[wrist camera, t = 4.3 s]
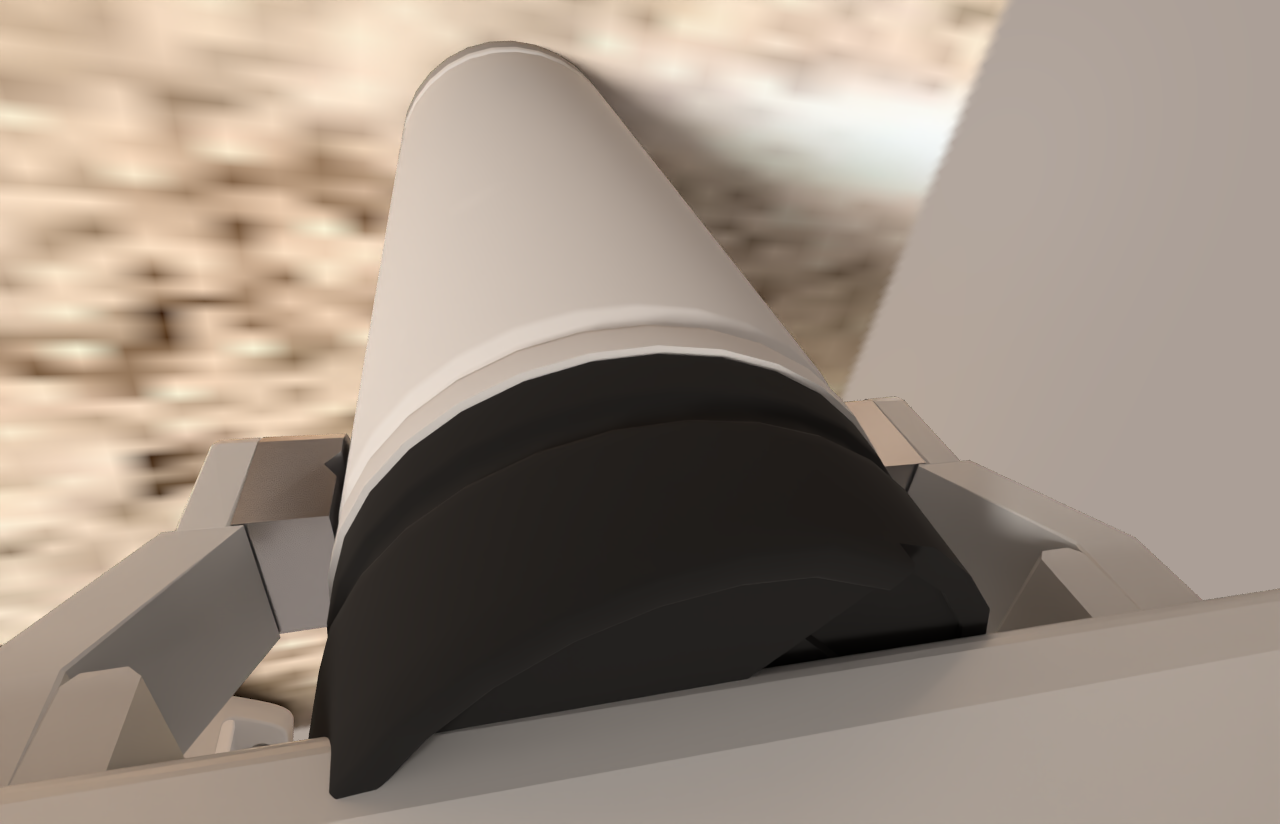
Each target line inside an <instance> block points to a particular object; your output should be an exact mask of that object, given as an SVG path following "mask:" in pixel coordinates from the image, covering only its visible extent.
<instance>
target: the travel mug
mask: <svg viewBox="0 0 1280 824" xmlns="http://www.w3.org/2000/svg"><path fill="white" fill-rule="evenodd" d="M328 585H329V599H330V606H329V612H328V618H327V634H328V638H327V642H326V646H325V650H324V654H323V658H322V662H321V666H320V670H319V675H318V681H317V687H316V694H315V700H314V706H313V713H312V719H311V725H310V732H309V739H313V738H319V737H328V739H329V741H330V745H331V762H330V782H329V794H330V795H331V796H332V797H333V798H334V799H340V798H344V797H348V796H352V795H357V794H361V793H365V792H369V791H373V790H377V789H378V788H379V787H381V786H382V785H383V784H384V783H385V782H386V781H387V780H388V779H389V778H390V777H391V776H392V775H393V774H394V773H395V772H396V771H397V770H398V769H399V768H400V767H401V766H402V765H403V764H404V763H405V762H406V761H407V759H408V758H409V757H410V756H411V755H412V754H413V753H414V752H415V751H416V750H417V749H418V748H419V747H420V746H421V745H422V744H423V743H424V742H425V741H426V740H427V739H428V738H429V737H431V736H432V735H433V734H434V733H440V732H446V731H452V730H457V729H463V728H469V727H474V726H480V725H486V724H492V723H497V722H503V721H509V720H515V719H520V718H526V717H532V716H538V715H543V714H549V713H555V712H560V711H566V710H572V709H578V708H583V707H589V706H595V705H601V704H606V703H612V702H618V701H624V700H629V699H635V698H641V697H647V696H652V695H658V694H664V693H670V692H675V691H681V690H687V689H693V688H698V687H704V686H710V685H716V684H721V683H727V682H733V681H739V680H744V679H749V678H750V677H751V676H753V675H754V674H756V673H757V672H759V671H760V670H761V669H764V668H770V667H776V666H783V665H789V664H796V663H802V662H809V661H815V660H822V659H828V658H835V657H841V656H847V655H854V654H860V653H867V652H873V651H880V650H886V649H893V648H899V647H906V646H912V645H918V644H925V643H931V642H938V641H944V640H951V639H957V638H964V637H970V636H977V635H983V634H986V630H987V624H988V618H989V613H990V608H989V606H988V605H987V603H986V601H985V599H984V598H983V596H982V594H981V593H980V591H979V589H978V587H977V586H976V584H975V582H974V580H973V579H972V577H971V575H970V574H969V573H968V571H967V570H966V569H965V568H964V566H963V565H962V564H961V562H960V561H959V560H958V558H957V557H956V556H955V554H954V553H953V552H952V550H951V549H950V548H949V547H948V545H947V544H946V543H945V541H944V540H943V539H942V537H941V536H940V535H939V533H938V532H937V531H936V530H935V528H934V527H933V526H932V524H931V523H930V522H929V520H928V519H927V518H926V516H925V515H924V514H923V512H922V511H921V510H920V509H919V507H918V506H917V505H916V503H915V502H914V501H913V499H912V498H911V497H910V496H909V494H908V493H907V492H906V490H905V489H904V488H903V487H901V486H900V485H899V484H898V483H897V482H896V481H894V480H893V479H892V477H891V476H890V474H889V472H888V471H887V469H886V467H885V466H884V464H883V463H882V461H881V459H880V458H879V456H878V454H877V452H876V450H875V448H874V447H873V445H872V443H871V442H870V440H869V438H868V437H867V435H866V433H865V432H864V430H863V428H862V427H861V425H860V423H859V422H858V420H857V419H856V417H855V416H854V414H853V413H852V412H851V411H850V409H849V408H848V407H847V406H846V404H845V403H844V402H843V400H842V399H841V398H840V397H839V396H838V395H837V394H836V393H834V392H833V391H832V390H831V389H830V387H829V385H828V384H827V382H826V380H825V379H824V377H823V376H822V374H821V373H820V371H819V370H818V369H817V368H816V366H815V365H814V364H813V362H812V361H811V360H810V359H809V357H808V356H807V355H806V354H805V352H804V351H803V350H802V349H801V347H800V346H799V345H798V343H797V342H796V341H795V340H794V338H793V337H792V336H791V335H790V333H789V332H788V331H787V330H786V328H785V327H784V326H783V324H782V323H781V322H780V321H779V319H778V318H777V317H776V316H775V314H774V313H773V312H772V311H771V309H770V308H769V307H768V306H767V304H766V303H765V302H764V300H763V299H762V298H761V297H760V295H759V294H758V293H757V292H756V290H755V289H754V288H753V287H752V285H751V284H750V283H749V281H748V280H747V279H746V278H745V276H744V275H743V274H742V273H741V271H740V270H739V269H738V268H737V266H736V265H735V264H734V262H733V261H732V260H731V259H730V257H729V256H728V255H727V254H726V252H725V251H724V250H723V249H722V247H721V246H720V245H719V243H718V242H717V241H716V240H715V238H714V237H713V236H712V235H711V233H710V232H709V231H708V230H707V228H706V227H705V226H704V224H703V223H702V222H701V221H700V219H699V218H698V217H697V216H696V214H695V213H694V212H693V211H692V209H691V208H690V207H689V205H688V204H687V203H686V202H685V200H684V199H683V198H682V197H681V195H680V194H679V193H678V192H677V190H676V189H675V188H674V187H673V185H672V184H671V183H670V181H669V180H668V179H667V178H666V176H665V175H664V174H663V173H662V171H661V170H660V169H659V168H658V166H657V165H656V164H655V162H654V161H653V160H652V159H651V157H650V156H649V155H648V154H647V152H646V151H645V150H644V149H643V147H642V146H641V145H640V143H639V142H638V141H637V140H636V138H635V137H634V136H633V135H632V133H631V132H630V131H629V130H628V128H627V127H626V126H625V124H624V123H623V122H622V121H621V119H620V118H619V117H618V116H617V114H616V113H615V112H614V111H613V109H612V108H611V107H610V105H609V104H608V103H607V102H606V100H605V99H604V98H603V97H602V95H601V94H600V93H599V92H598V90H597V89H596V88H595V86H594V85H593V84H592V83H591V82H590V81H589V80H588V79H587V78H586V77H585V76H584V75H583V74H582V73H581V72H580V71H579V70H578V69H577V68H576V67H575V66H574V65H573V64H571V63H570V62H568V61H567V60H565V59H564V58H562V57H561V56H559V55H558V54H556V53H553V52H551V51H549V50H546V49H544V48H541V47H539V46H536V45H532V44H527V43H521V42H515V41H498V42H487V43H483V44H479V45H476V46H472V47H468V48H466V49H464V50H462V51H460V52H458V53H456V54H454V55H452V56H450V57H449V58H447V59H446V60H445V61H443V62H442V63H441V64H440V65H439V66H437V67H436V68H435V69H434V70H433V71H432V72H430V74H429V75H428V76H427V78H426V79H425V80H424V82H423V83H422V84H421V86H420V87H419V88H418V90H417V91H416V93H415V95H414V98H413V100H412V102H411V104H410V106H409V109H408V111H407V115H406V120H405V124H404V129H403V134H402V140H401V147H400V152H399V158H398V164H397V170H396V176H395V181H394V187H393V193H392V199H391V205H390V211H389V217H388V223H387V229H386V235H385V241H384V247H383V253H382V259H381V265H380V271H379V277H378V282H377V288H376V294H375V300H374V306H373V312H372V318H371V324H370V330H369V336H368V342H367V348H366V354H365V360H364V366H363V372H362V378H361V383H360V389H359V395H358V401H357V407H356V413H355V419H354V425H353V431H352V437H351V443H350V449H349V455H348V461H347V467H346V473H345V479H344V484H343V490H342V496H341V502H340V508H339V514H338V529H337V533H336V538H335V542H334V546H333V550H332V556H331V562H330V568H329V574H328Z"/></svg>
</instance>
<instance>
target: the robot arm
mask: <svg viewBox="0 0 1280 824" xmlns="http://www.w3.org/2000/svg"><path fill="white" fill-rule="evenodd" d="M844 403H845V404H846V406H847V407H848V408H849V409H850V411H851V412H852V413H853V414H854V416H855V417H856V419H857V420H858V422H859V423H860V425H861V427H862V428H863V430H864V432H865V433H866V435H867V437H868V438H869V440H870V442H871V443H872V445H873V447H874V448H875V450H876V452H877V454H878V456H879V458H880V459H881V461H882V463H883V464H884V466H885V467H886V469H887V471H888V472H889V474H890V476H891V477H892V479H893V480H894V481H896V482H897V483H898V484H899V485H900V486H901V487H903V488H904V489H905V490H906V492H907V493H908V494H909V496H910V497H911V498H912V499H913V501H914V502H915V503H916V505H917V506H918V507H919V509H920V510H921V511H922V512H923V514H924V515H925V516H926V518H927V519H928V520H929V522H930V523H931V524H932V526H933V527H934V528H935V530H936V531H937V532H938V533H939V535H940V536H941V537H942V539H943V540H944V541H945V543H946V544H947V545H948V547H949V548H950V549H951V550H952V552H953V553H954V554H955V556H956V557H957V558H958V560H959V561H960V562H961V564H962V565H963V566H964V568H965V569H966V570H967V571H968V573H969V574H970V575H971V577H972V579H973V580H974V582H975V584H976V586H977V587H978V589H979V591H980V593H981V594H982V596H983V598H984V599H985V601H986V603H987V605H988V606H989V608H990V613H989V618H988V624H987V630H986V634H983V635H977V636H970V637H964V638H957V639H951V640H944V641H938V642H931V643H925V644H918V645H912V646H906V647H899V648H893V649H886V650H880V651H873V652H867V653H860V654H854V655H847V656H841V657H835V658H828V659H822V660H815V661H809V662H802V663H796V664H789V665H783V666H776V667H770V668H764V669H761V670H760V671H759V672H757V673H756V674H754V675H753V676H751V677H750V678H749V679H744V680H739V681H733V682H727V683H721V684H716V685H710V686H704V687H698V688H693V689H687V690H681V691H675V692H670V693H664V694H658V695H652V696H647V697H641V698H635V699H629V700H624V701H618V702H612V703H606V704H601V705H595V706H589V707H583V708H578V709H572V710H566V711H560V712H555V713H549V714H543V715H538V716H532V717H526V718H520V719H515V720H509V721H503V722H497V723H492V724H486V725H480V726H474V727H469V728H463V729H457V730H452V731H446V732H440V733H434V734H433V735H432V736H431V737H429V738H428V739H427V740H426V741H425V742H424V743H423V744H422V745H421V746H420V747H419V748H418V749H417V750H416V751H415V752H414V753H413V754H412V755H411V756H410V757H409V758H408V759H407V761H406V762H405V763H404V764H403V765H402V766H401V767H400V768H399V769H398V770H397V771H396V772H395V773H394V774H393V775H392V776H391V777H390V778H389V779H388V780H387V781H386V782H385V783H384V784H383V785H382V786H381V787H379V788H378V789H377V790H373V791H369V792H365V793H361V794H357V795H352V796H348V797H344V798H340V799H334V798H333V797H332V796H331V795H330V794H329V782H330V762H331V745H330V741H329V739H328V737H319V738H313V739H307V740H300V741H294V742H293V729H294V718H293V715H292V713H291V712H290V711H289V710H288V709H286V708H284V707H282V706H279V705H276V704H272V703H268V702H264V701H259V700H253V699H248V698H242V697H236V696H233V694H234V693H235V692H236V691H237V690H238V688H239V687H240V686H241V685H242V684H243V682H244V681H245V680H246V679H247V677H248V676H249V675H250V674H251V673H252V671H253V670H254V669H255V668H256V667H257V665H258V664H259V663H260V662H261V661H262V659H263V658H264V657H265V656H266V654H267V653H268V652H269V651H270V650H271V648H272V647H273V646H274V645H275V644H276V642H277V641H278V640H279V639H280V635H279V634H282V633H288V632H295V631H302V630H309V629H315V628H322V627H327V618H328V612H329V606H330V599H329V585H328V574H329V568H330V562H331V556H332V550H333V546H334V542H335V538H336V533H337V529H338V514H339V508H340V502H341V496H342V490H343V484H344V479H345V473H346V467H347V461H348V455H349V449H350V443H351V441H350V438H349V436H348V435H347V434H326V435H303V436H281V437H263V438H244V439H228V440H219V441H217V442H216V443H214V444H213V445H212V446H211V447H210V449H209V452H208V454H207V457H206V459H205V461H204V464H203V466H202V468H201V471H200V473H199V476H198V478H197V480H196V483H195V485H194V487H193V490H192V492H191V495H190V497H189V499H188V502H187V504H186V506H185V509H184V511H183V514H182V516H181V518H180V521H179V523H178V525H177V528H176V530H175V531H171V532H161V533H160V534H158V535H157V536H156V537H154V538H153V539H151V540H150V541H149V542H147V543H146V544H144V545H143V546H142V547H140V548H139V549H137V550H136V551H135V552H133V553H132V554H130V555H129V556H128V557H126V558H125V559H123V560H122V561H121V562H119V563H118V564H116V565H115V566H114V567H112V568H111V569H109V570H108V571H107V572H105V573H104V574H102V575H101V576H100V577H98V578H97V579H95V580H94V581H93V582H91V583H90V584H88V585H87V586H86V587H84V588H83V589H81V590H80V591H79V592H77V593H76V594H74V595H73V596H72V597H70V598H69V599H67V600H66V601H65V602H63V603H62V604H60V605H59V606H58V607H56V608H55V609H53V610H52V611H50V612H49V613H48V614H46V615H45V616H43V617H42V618H41V619H39V620H38V621H36V622H35V623H34V624H32V625H31V626H29V627H28V628H27V629H25V630H24V631H22V632H21V633H20V634H18V635H17V636H15V637H14V638H13V639H11V640H10V641H8V642H7V643H6V644H4V645H3V646H1V647H0V824H1280V589H1273V590H1266V591H1260V592H1254V593H1248V594H1241V595H1235V596H1228V597H1221V598H1215V599H1209V600H1202V599H1201V598H1200V597H1199V596H1198V595H1197V594H1195V593H1194V592H1193V591H1192V590H1191V589H1190V588H1189V587H1188V586H1187V585H1186V584H1184V583H1183V581H1181V580H1180V579H1179V578H1178V577H1177V576H1176V575H1175V574H1174V573H1173V572H1172V571H1171V570H1170V569H1169V568H1168V567H1166V566H1165V565H1164V564H1163V563H1162V562H1161V561H1160V560H1159V559H1158V558H1157V557H1156V556H1155V555H1154V554H1152V553H1151V552H1150V551H1149V550H1148V549H1147V548H1146V547H1145V546H1144V545H1143V544H1142V543H1141V542H1140V541H1139V540H1137V539H1136V538H1135V537H1133V536H1131V535H1129V534H1127V533H1125V532H1122V531H1120V530H1118V529H1116V528H1114V527H1112V526H1109V525H1107V524H1105V523H1103V522H1101V521H1099V520H1097V519H1094V518H1092V517H1090V516H1088V515H1086V514H1084V513H1081V512H1080V511H1077V510H1075V509H1073V508H1071V507H1069V506H1067V505H1064V504H1062V503H1060V502H1058V501H1056V500H1054V499H1052V498H1049V497H1047V496H1045V495H1043V494H1041V493H1039V492H1036V491H1034V490H1032V489H1030V488H1028V487H1026V486H1024V485H1022V484H1019V483H1017V482H1015V481H1013V480H1011V479H1009V478H1007V477H1004V476H1002V475H1000V474H998V473H996V472H994V471H992V470H989V469H987V468H985V467H983V466H981V465H979V464H977V463H974V462H972V461H970V460H967V461H960V460H959V459H958V458H957V457H956V456H955V455H954V454H953V452H952V451H951V450H950V449H949V448H948V447H947V446H946V445H945V444H944V443H943V442H942V441H941V440H940V438H939V437H938V436H937V435H936V434H935V433H934V432H933V431H932V430H931V429H930V428H929V426H928V425H927V424H926V423H925V422H924V421H923V420H922V419H921V418H920V417H919V416H918V415H917V414H916V413H915V411H914V410H913V409H912V408H911V407H910V406H909V405H908V404H907V403H906V402H905V400H902V399H900V398H898V397H895V396H894V397H885V398H873V399H865V400H863V401H850V402H844Z"/></svg>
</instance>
